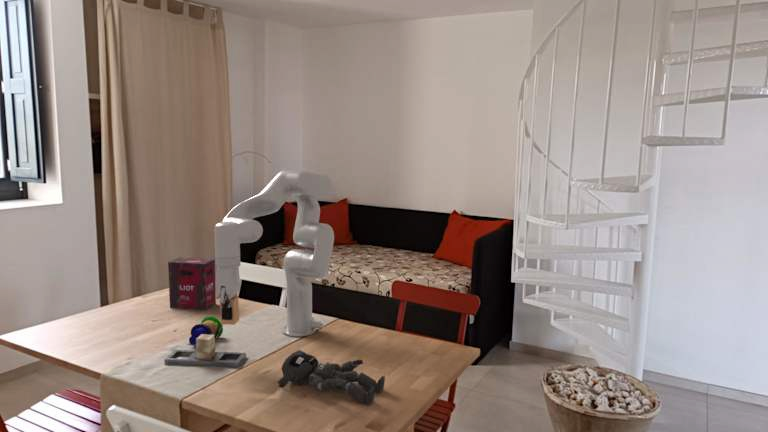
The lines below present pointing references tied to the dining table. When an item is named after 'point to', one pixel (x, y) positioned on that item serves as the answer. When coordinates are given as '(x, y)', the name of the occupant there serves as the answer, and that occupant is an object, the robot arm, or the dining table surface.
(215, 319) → the toy
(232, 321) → the terracotta block
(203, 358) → the beech block
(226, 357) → the rail
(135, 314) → the dining table surface
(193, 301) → the box
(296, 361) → the robot
